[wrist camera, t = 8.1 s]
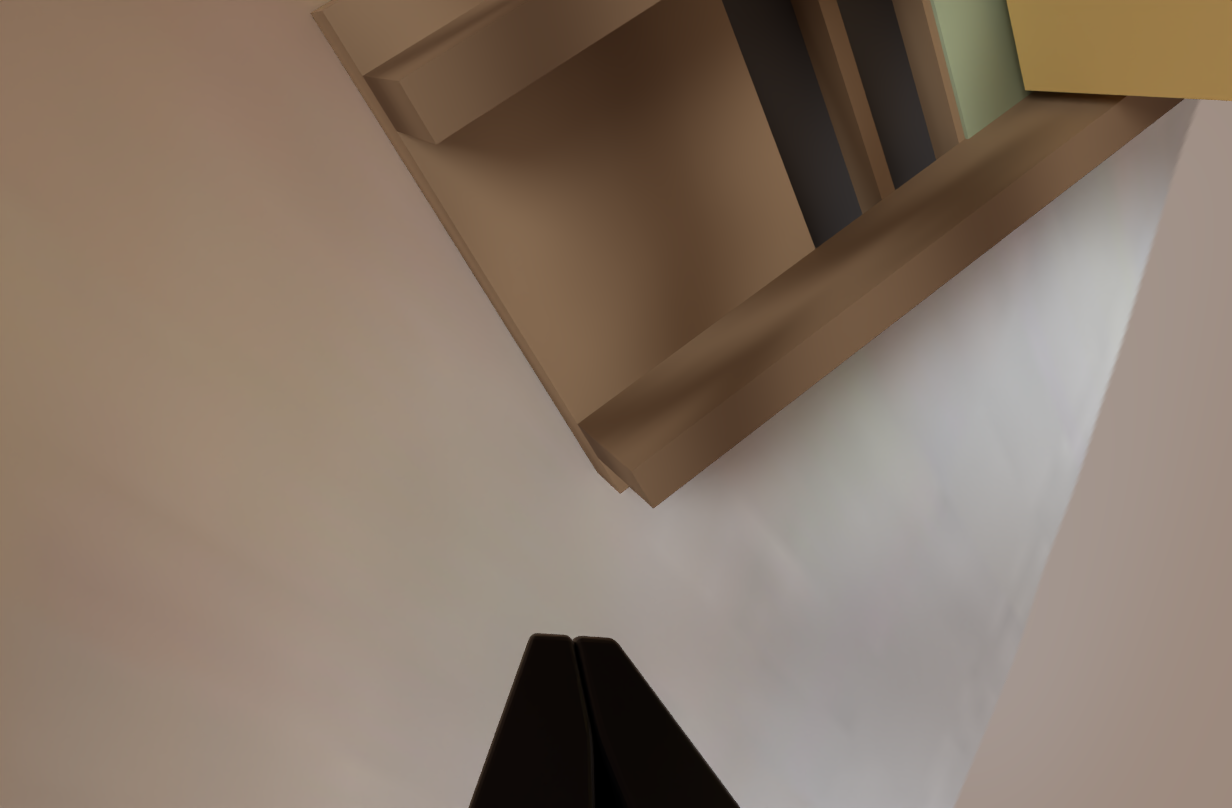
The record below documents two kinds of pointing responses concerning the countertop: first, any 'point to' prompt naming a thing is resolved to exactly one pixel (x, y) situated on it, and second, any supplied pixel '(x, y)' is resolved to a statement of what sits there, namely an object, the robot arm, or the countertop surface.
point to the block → (1125, 47)
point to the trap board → (713, 186)
